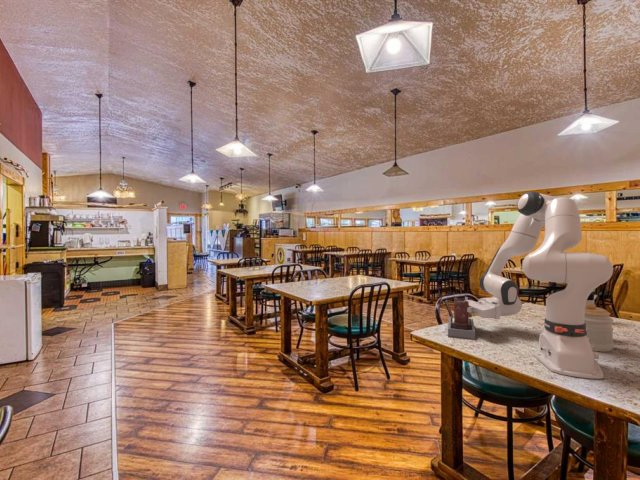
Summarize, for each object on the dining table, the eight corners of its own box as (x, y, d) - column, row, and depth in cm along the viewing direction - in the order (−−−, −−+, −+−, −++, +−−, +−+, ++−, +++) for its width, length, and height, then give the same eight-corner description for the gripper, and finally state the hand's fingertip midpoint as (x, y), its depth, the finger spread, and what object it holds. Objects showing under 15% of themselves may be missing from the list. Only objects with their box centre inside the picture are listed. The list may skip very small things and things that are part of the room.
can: (471, 333, 144) (470, 302, 144) (457, 333, 145) (456, 302, 145) (466, 328, 150) (465, 299, 150) (452, 329, 151) (451, 299, 151)
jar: (568, 346, 129) (569, 303, 128) (573, 338, 138) (573, 298, 138) (612, 355, 120) (613, 308, 119) (613, 346, 129) (614, 302, 129)
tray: (475, 339, 139) (475, 331, 139) (448, 336, 143) (447, 328, 143) (472, 325, 159) (472, 318, 159) (449, 323, 164) (449, 316, 164)
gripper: (472, 296, 159) (446, 297, 157) (502, 305, 139) (473, 307, 136) (472, 308, 159) (446, 310, 157) (502, 320, 139) (473, 322, 137)
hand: (459, 309), depth 146 cm, fingers closed
